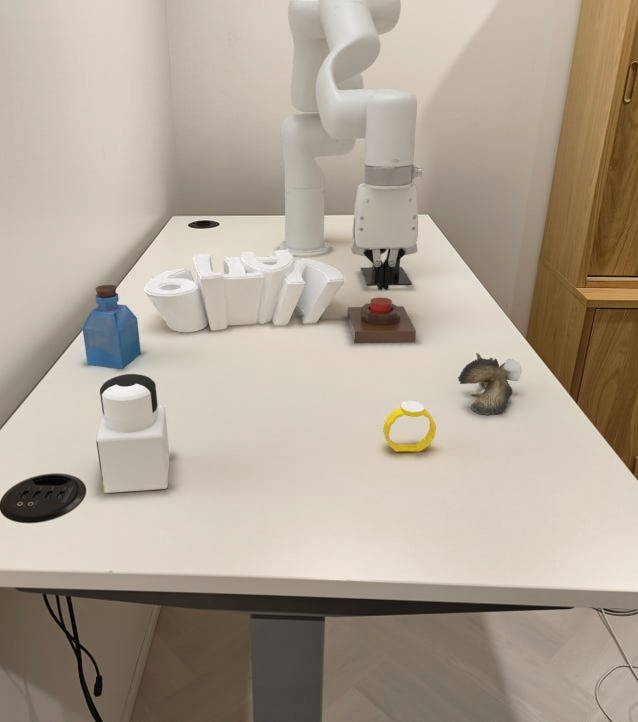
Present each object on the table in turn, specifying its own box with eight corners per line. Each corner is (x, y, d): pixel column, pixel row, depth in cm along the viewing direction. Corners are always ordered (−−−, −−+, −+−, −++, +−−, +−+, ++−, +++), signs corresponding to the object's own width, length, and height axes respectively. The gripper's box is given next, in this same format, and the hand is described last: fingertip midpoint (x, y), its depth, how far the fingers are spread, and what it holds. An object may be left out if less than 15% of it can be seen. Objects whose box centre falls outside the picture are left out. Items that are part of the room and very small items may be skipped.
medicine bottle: (110, 459, 82) (98, 369, 77) (169, 455, 82) (161, 365, 77) (103, 494, 75) (89, 398, 70) (167, 489, 76) (158, 394, 71)
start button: (368, 306, 118) (369, 297, 117) (389, 306, 117) (390, 297, 117) (371, 314, 114) (371, 304, 114) (392, 313, 114) (393, 304, 113)
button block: (347, 318, 123) (348, 297, 121) (402, 317, 123) (404, 296, 121) (354, 343, 112) (355, 321, 110) (415, 343, 112) (416, 320, 110)
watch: (385, 457, 81) (388, 413, 78) (380, 444, 83) (383, 401, 81) (435, 454, 81) (439, 410, 78) (428, 442, 83) (432, 399, 81)
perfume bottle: (140, 353, 111) (133, 283, 106) (122, 369, 105) (113, 295, 100) (107, 349, 113) (98, 280, 108) (87, 364, 107) (77, 292, 102)
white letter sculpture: (331, 298, 133) (332, 246, 129) (347, 329, 118) (349, 271, 114) (152, 307, 131) (147, 253, 127) (145, 339, 116) (139, 280, 112)
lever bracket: (360, 272, 148) (362, 219, 143) (401, 272, 148) (405, 218, 143) (367, 290, 137) (369, 232, 133) (411, 289, 137) (415, 231, 132)
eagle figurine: (457, 372, 98) (443, 387, 91) (491, 337, 95) (479, 348, 87) (498, 408, 97) (487, 426, 89) (534, 373, 93) (526, 389, 86)
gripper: (430, 171, 110) (422, 280, 117) (338, 173, 110) (336, 281, 118) (441, 179, 103) (431, 293, 110) (342, 181, 103) (339, 295, 111)
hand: (382, 287), depth 114 cm, fingers closed
